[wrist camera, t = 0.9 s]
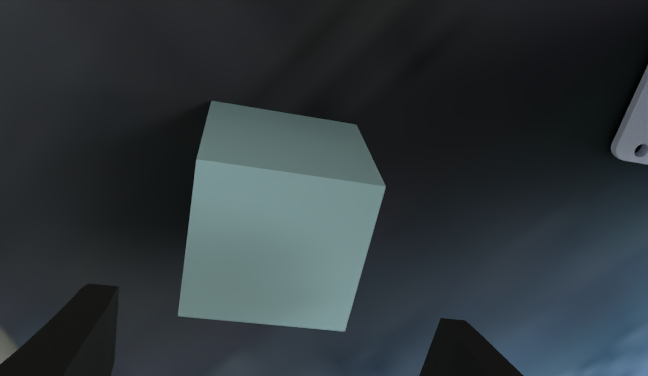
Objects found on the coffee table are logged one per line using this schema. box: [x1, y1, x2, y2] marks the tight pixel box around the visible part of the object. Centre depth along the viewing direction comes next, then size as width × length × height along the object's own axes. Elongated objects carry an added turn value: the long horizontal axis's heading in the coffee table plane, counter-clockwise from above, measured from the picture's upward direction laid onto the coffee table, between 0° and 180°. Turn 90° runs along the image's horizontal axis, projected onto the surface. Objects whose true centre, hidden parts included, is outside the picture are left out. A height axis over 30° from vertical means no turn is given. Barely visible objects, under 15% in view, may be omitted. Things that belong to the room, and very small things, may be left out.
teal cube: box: [178, 101, 386, 331], centre depth 17 cm, size 5×5×5 cm
